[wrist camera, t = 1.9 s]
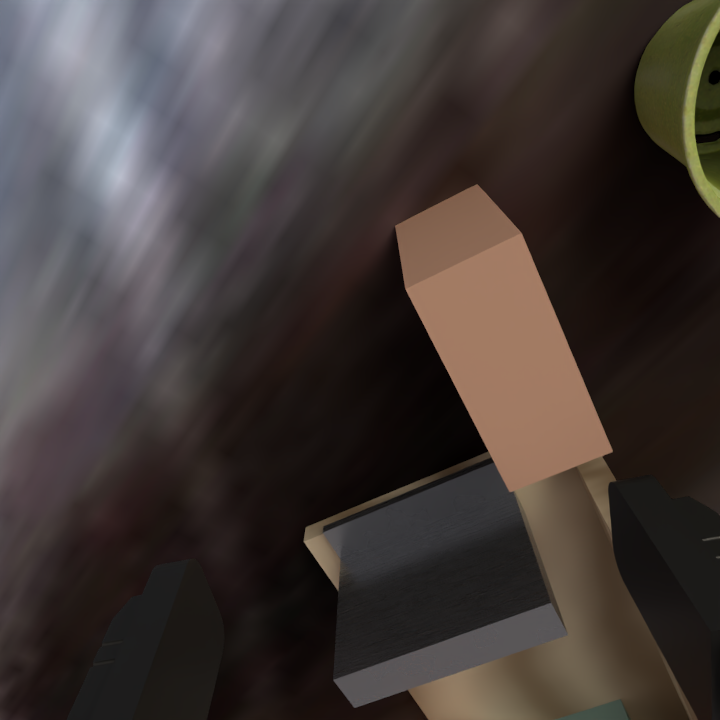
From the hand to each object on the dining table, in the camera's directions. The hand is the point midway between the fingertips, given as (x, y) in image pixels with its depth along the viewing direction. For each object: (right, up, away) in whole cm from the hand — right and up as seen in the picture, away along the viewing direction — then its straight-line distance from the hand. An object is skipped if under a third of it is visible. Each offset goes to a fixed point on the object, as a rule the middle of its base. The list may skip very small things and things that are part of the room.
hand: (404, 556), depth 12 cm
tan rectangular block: (+5, +7, +18) cm, 20 cm away
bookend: (+3, -5, +22) cm, 22 cm away
